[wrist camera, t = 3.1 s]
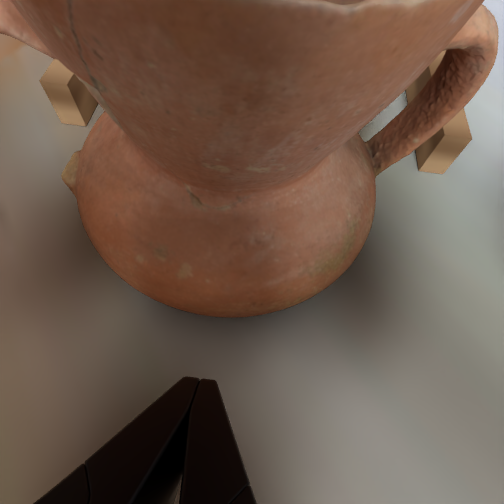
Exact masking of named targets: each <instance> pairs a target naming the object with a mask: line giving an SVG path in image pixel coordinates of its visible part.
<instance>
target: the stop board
mask: <svg viewBox="0 0 504 504" xmlns="http://www.w3.org/2000/svg"><path fill="white" fill-rule="evenodd" d="M445 52H446V50H445V51H442V52H441V53H440V54H439V55H438V57H437V58H436V59H435V60H434V61H433V62H432V63H431V64H430V65H429V66H428V67H427V68H426V69H425V70H424V71H423V73H422V74H421V75H420V76H419V77H418V78H417V79H416V80H415V81H414V82H413V83H412V84H411V85H410V86H409V87H408V88H407V89H406V95H407V102H408V104H409V103H410V102H411V101H412V100H413V99H414V98H415V96H416V95H417V94H418V93H419V92H420V91H421V89H423V88H424V86H425V85H426V84H427V82H428V80H429V79H430V77H431V76H432V75H433V74H434V72H435V71H436V69H437V67H438V66H439V64H440V62H441V60H442V58H443V56H444V54H445ZM40 83H41V85H42V87H43V89H44V90H45V92H46V94H47V96H48V98H49V100H50V102H51V104H52V105H53V107H54V109H55V111H56V113H57V115H58V117H59V119H60V120H61V122H62V123H64V124H72V125H79V126H87V124H88V122H89V120H90V118H91V116H92V114H93V112H94V110H95V108H96V106H97V104H98V102H97V101H96V100H95V98H94V97H93V96H92V95H91V93H90V92H89V91H88V89H87V88H86V86H85V85H84V84H83V83H82V82H81V81H80V80H79V79H78V78H77V76H76V75H75V74H74V73H72V72H71V71H70V70H69V69H67V68H66V67H65V66H64V65H63V64H62V63H61V62H60V61H59V60H57V59H54V60H53V62H52V63H51V65H50V66H49V67H48V69H47V70H46V72H45V73H44V75H43V76H42V78H41V79H40ZM471 140H472V136H471V133H470V129H469V126H468V122H467V119H466V115H465V111H464V108H463V109H462V110H460V112H459V113H458V114H457V115H456V116H455V117H454V118H453V119H451V120H450V121H449V122H448V123H447V124H446V125H444V126H443V127H442V128H441V129H440V130H439V131H438V132H437V133H436V134H434V135H433V136H432V137H430V138H429V139H428V140H427V141H425V142H424V143H423V144H421V145H420V146H419V147H418V148H416V149H415V151H416V157H417V163H418V169H419V171H423V172H431V173H438V174H443V173H444V172H445V171H446V170H447V169H448V167H449V166H450V165H451V164H452V163H453V161H454V160H455V159H456V158H457V157H458V155H459V154H460V153H461V152H462V151H463V149H464V148H465V147H466V146H467V144H468V143H469V142H470V141H471Z"/></svg>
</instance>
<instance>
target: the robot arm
mask: <svg viewBox="0 0 504 504" xmlns="http://www.w3.org/2000/svg"><path fill="white" fill-rule="evenodd" d="M181 479H182V482H181ZM180 482H181V491H180V500H179V504H257V503H256V500H255V497H254V494H253V491H252V488H251V486H250V482H249V479H248V476H247V473H246V470H245V467H244V464H243V461H242V458H241V455H240V452H239V449H238V446H237V443H236V440H235V437H234V434H233V430H232V427H231V424H230V421H229V418H228V415H227V412H226V409H225V406H224V403H223V400H222V397H221V394H220V391H219V388H218V385H217V382H216V381H215V380H210V379H201V380H199V378H194V377H187V376H186V377H183V378H182V379H181V380H179V381H178V382H177V383H176V384H175V385H174V386H172V387H171V388H170V389H169V390H168V391H167V392H165V393H164V394H163V395H162V396H161V397H160V398H158V399H157V400H156V401H155V402H154V403H153V404H151V405H150V406H149V407H148V408H147V409H146V410H144V411H143V412H142V413H141V414H140V415H139V416H137V417H136V418H135V419H134V420H133V421H132V422H130V423H129V424H128V425H127V426H126V427H125V428H123V429H122V430H121V431H120V432H119V433H118V434H116V435H115V436H114V437H113V438H112V439H111V440H109V441H108V442H107V443H106V444H105V445H104V446H102V447H101V448H100V449H99V450H98V451H97V452H95V453H94V454H93V455H92V456H91V457H90V458H88V459H87V460H86V461H85V465H84V464H81V465H80V466H79V467H78V468H77V469H75V470H74V471H73V472H72V473H71V474H69V475H68V476H67V477H66V478H65V479H63V480H62V481H61V482H60V483H59V484H57V485H56V486H55V487H54V488H52V489H51V490H50V491H49V492H48V493H46V494H45V495H44V496H43V497H41V498H40V499H39V500H37V501H36V502H35V503H33V504H173V503H174V500H175V497H176V494H177V491H178V488H179V485H180Z"/></svg>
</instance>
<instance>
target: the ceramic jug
mask: <svg viewBox="0 0 504 504" xmlns="http://www.w3.org/2000/svg"><path fill="white" fill-rule="evenodd" d="M483 1H484V0H0V33H1V34H5V35H8V36H11V37H13V38H15V39H18V40H20V41H22V42H23V43H25V44H27V45H29V46H31V47H33V48H35V49H37V50H39V51H40V52H43V53H44V54H46V55H48V56H50V57H51V58H53V59H57V60H59V61H60V62H61V63H62V64H63V65H64V66H65V67H66V68H67V69H69V70H70V71H71V72H72V73H74V74H75V75H76V76H77V78H78V79H79V80H80V81H81V82H82V83H83V84H84V85H85V86H86V88H87V89H88V91H89V92H90V93H91V95H92V96H93V97H94V98H95V100H96V101H97V102H98V103H99V104H100V106H101V107H102V108H103V109H104V110H105V111H104V113H103V114H102V115H101V116H100V117H99V119H98V120H97V122H96V123H95V125H94V126H93V128H92V130H91V131H90V133H89V135H88V137H87V139H86V141H85V143H84V145H83V148H82V150H80V151H77V152H75V153H74V154H73V155H72V157H71V160H70V161H69V163H68V164H67V165H66V167H65V169H64V171H63V172H62V175H61V176H62V179H63V181H64V182H65V184H66V185H67V186H68V187H69V188H70V190H71V191H72V192H73V194H74V195H75V197H76V198H77V203H78V209H79V213H80V216H81V220H82V223H83V226H84V228H85V230H86V233H87V235H88V237H89V239H90V240H91V242H92V244H93V245H94V247H95V248H96V250H97V251H98V253H99V254H100V256H101V257H102V258H103V260H104V261H105V262H106V263H107V264H108V265H109V266H110V267H111V268H112V270H113V271H114V272H115V273H116V274H118V275H119V276H120V277H121V278H122V279H123V280H124V281H126V282H127V283H128V284H129V285H131V286H132V287H133V288H135V289H137V290H138V291H140V292H142V293H143V294H145V295H147V296H149V297H151V298H152V299H154V300H156V301H158V302H161V303H163V304H165V305H168V306H171V307H174V308H177V309H180V310H183V311H187V312H191V313H195V314H200V315H206V316H212V317H250V316H257V315H262V314H268V313H272V312H275V311H279V310H282V309H286V308H289V307H291V306H294V305H296V304H299V303H301V302H303V301H305V300H307V299H309V298H311V297H313V296H315V295H316V294H318V293H319V292H321V291H322V290H324V289H325V288H327V287H328V286H329V285H331V284H332V283H333V282H334V281H336V280H337V279H338V278H339V277H340V276H341V275H342V274H343V273H344V272H345V271H346V270H347V269H348V268H349V266H350V265H351V264H352V263H353V261H354V260H355V259H356V257H357V256H358V254H359V252H360V251H361V249H362V247H363V245H364V243H365V241H366V239H367V237H368V235H369V232H370V229H371V225H372V221H373V217H374V211H375V202H376V186H375V178H376V176H377V175H379V173H381V172H382V171H383V170H385V169H386V168H388V167H389V166H391V165H392V164H394V163H396V162H398V161H399V160H400V159H402V158H403V157H405V156H407V155H409V154H410V153H411V152H412V151H413V150H415V149H416V148H418V147H419V146H420V145H421V144H423V143H424V142H425V141H427V140H428V139H429V138H430V137H432V136H433V135H434V134H436V133H437V132H438V131H439V130H440V129H441V128H442V127H443V126H444V125H446V124H447V123H448V122H449V121H450V120H451V119H453V118H454V117H455V116H456V115H457V114H458V113H459V112H460V110H462V109H463V108H464V106H465V105H466V104H467V103H468V102H469V101H470V100H471V99H472V98H473V96H474V95H475V94H476V92H477V91H478V90H479V88H480V87H481V86H482V85H483V83H484V82H485V80H486V78H487V77H488V75H489V73H490V71H491V69H492V67H493V65H494V62H495V59H496V55H497V50H498V26H497V23H496V20H495V17H494V16H493V15H492V13H491V12H490V11H489V10H488V9H487V8H486V7H485V6H484V5H482V3H483ZM445 50H446V52H445V54H444V56H443V58H442V60H441V62H440V64H439V66H438V67H437V69H436V71H435V72H434V74H433V75H432V76H431V77H430V79H429V80H428V82H427V84H426V85H425V86H424V88H423V89H421V91H420V92H419V93H418V94H417V95H416V96H415V98H414V99H413V100H412V101H411V102H410V103H409V104H408V105H407V106H406V107H405V109H404V110H403V111H401V113H400V114H398V115H397V116H396V117H395V118H394V119H393V120H392V121H391V122H390V123H388V124H387V126H386V127H384V128H383V129H382V130H381V131H380V132H378V133H377V134H376V135H374V136H373V137H372V138H371V139H370V140H369V141H367V142H364V141H363V140H362V139H361V137H360V135H359V133H358V132H359V131H360V130H361V129H362V128H363V127H364V126H365V125H366V124H368V123H369V122H370V121H371V120H372V119H373V118H374V117H375V116H376V115H378V114H379V113H380V112H381V111H382V110H384V109H385V108H386V107H387V106H388V105H389V104H390V103H392V102H393V101H394V100H395V99H396V98H397V97H398V96H399V95H400V94H402V93H403V92H404V91H405V90H406V89H407V88H408V87H409V86H410V85H411V84H412V83H413V82H414V81H415V80H416V79H417V78H418V77H419V76H420V75H421V74H422V73H423V71H424V70H425V69H426V68H427V67H428V66H429V65H430V64H431V63H432V62H433V61H434V60H435V59H436V58H437V57H438V55H439V54H440V53H441V52H442V51H445Z"/></svg>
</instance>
